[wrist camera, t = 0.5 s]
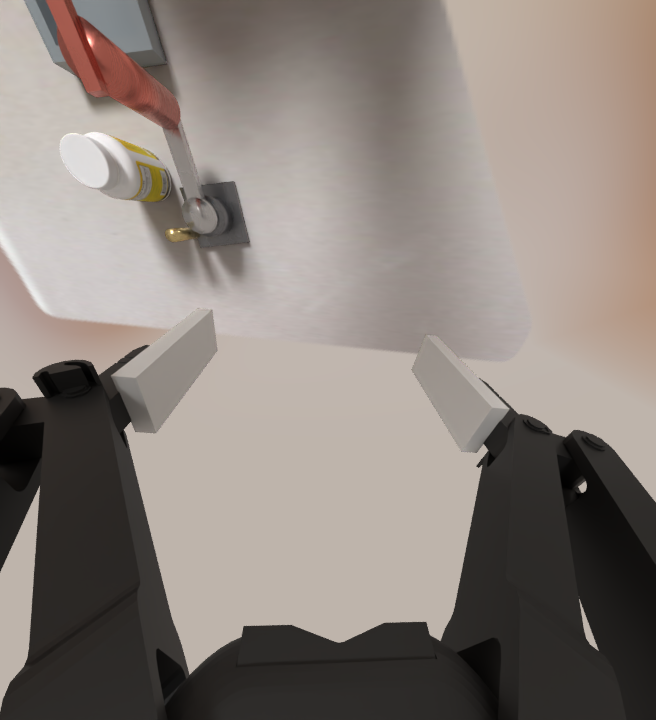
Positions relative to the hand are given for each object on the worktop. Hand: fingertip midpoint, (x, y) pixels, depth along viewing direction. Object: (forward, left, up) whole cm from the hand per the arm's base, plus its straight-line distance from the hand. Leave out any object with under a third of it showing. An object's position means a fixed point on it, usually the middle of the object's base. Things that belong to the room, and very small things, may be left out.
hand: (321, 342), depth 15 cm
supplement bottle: (-13, -20, -26) cm, 35 cm away
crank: (-13, -13, -21) cm, 28 cm away
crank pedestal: (-8, -13, -25) cm, 30 cm away
